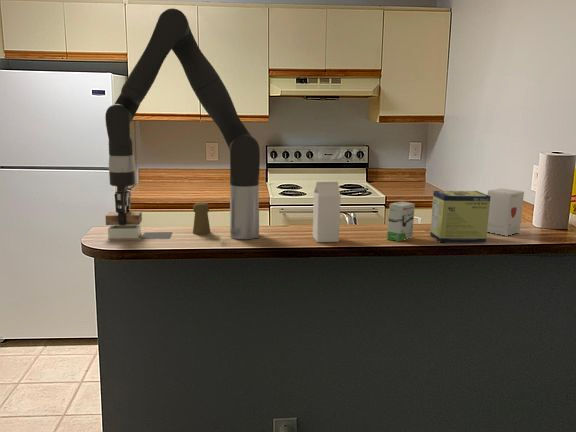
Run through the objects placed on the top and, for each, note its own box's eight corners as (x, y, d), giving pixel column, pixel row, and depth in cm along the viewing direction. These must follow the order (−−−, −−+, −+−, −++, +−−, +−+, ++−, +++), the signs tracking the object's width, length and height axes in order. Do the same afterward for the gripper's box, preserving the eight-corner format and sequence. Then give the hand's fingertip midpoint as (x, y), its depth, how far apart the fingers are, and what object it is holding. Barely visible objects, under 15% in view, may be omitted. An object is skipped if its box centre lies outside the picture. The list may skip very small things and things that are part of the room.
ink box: (399, 242, 168) (401, 205, 166) (386, 239, 172) (388, 203, 169) (413, 237, 175) (415, 202, 172) (400, 235, 178) (402, 200, 175)
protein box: (487, 243, 169) (491, 195, 166) (439, 243, 168) (443, 195, 165) (473, 235, 179) (477, 190, 176) (429, 235, 178) (432, 190, 175)
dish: (141, 236, 170) (140, 224, 170) (138, 241, 165) (137, 228, 164) (112, 236, 169) (111, 224, 168) (108, 241, 163) (107, 229, 163)
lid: (141, 220, 169) (141, 211, 169) (139, 224, 164) (138, 215, 163) (109, 221, 168) (109, 211, 168) (105, 225, 162) (105, 215, 162)
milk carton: (339, 242, 167) (341, 183, 163) (317, 242, 166) (318, 183, 162) (333, 236, 174) (335, 180, 170) (312, 237, 173) (314, 180, 169)
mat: (172, 234, 173) (172, 232, 173) (170, 241, 164) (170, 238, 164) (144, 235, 172) (144, 232, 172) (140, 242, 163) (140, 239, 163)
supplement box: (507, 237, 177) (511, 193, 174) (482, 232, 184) (486, 190, 181) (520, 233, 183) (525, 191, 180) (496, 228, 190) (500, 187, 187)
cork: (188, 235, 173) (188, 202, 171) (203, 232, 177) (203, 200, 175) (199, 238, 169) (198, 205, 166) (214, 235, 173) (214, 203, 171)
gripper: (130, 172, 156) (132, 227, 159) (137, 167, 170) (140, 218, 173) (104, 172, 155) (107, 228, 158) (114, 167, 169) (116, 218, 172)
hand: (124, 222), depth 166 cm, fingers closed on lid, 6 cm apart
